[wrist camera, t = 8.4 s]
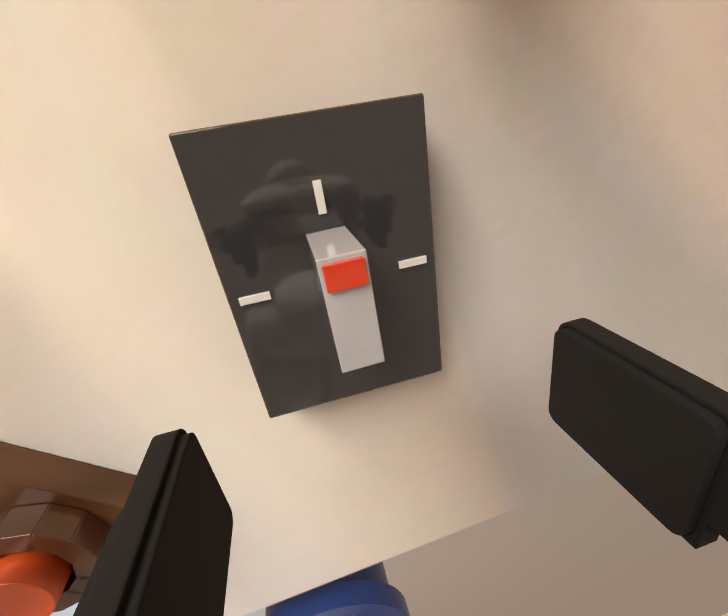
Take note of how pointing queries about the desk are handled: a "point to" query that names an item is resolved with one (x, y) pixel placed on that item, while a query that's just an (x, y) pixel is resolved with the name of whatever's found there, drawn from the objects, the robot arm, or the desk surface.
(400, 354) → the panel
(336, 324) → the light grey rectangular block
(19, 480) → the brown button mount
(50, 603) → the timer button
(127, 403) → the desk surface
